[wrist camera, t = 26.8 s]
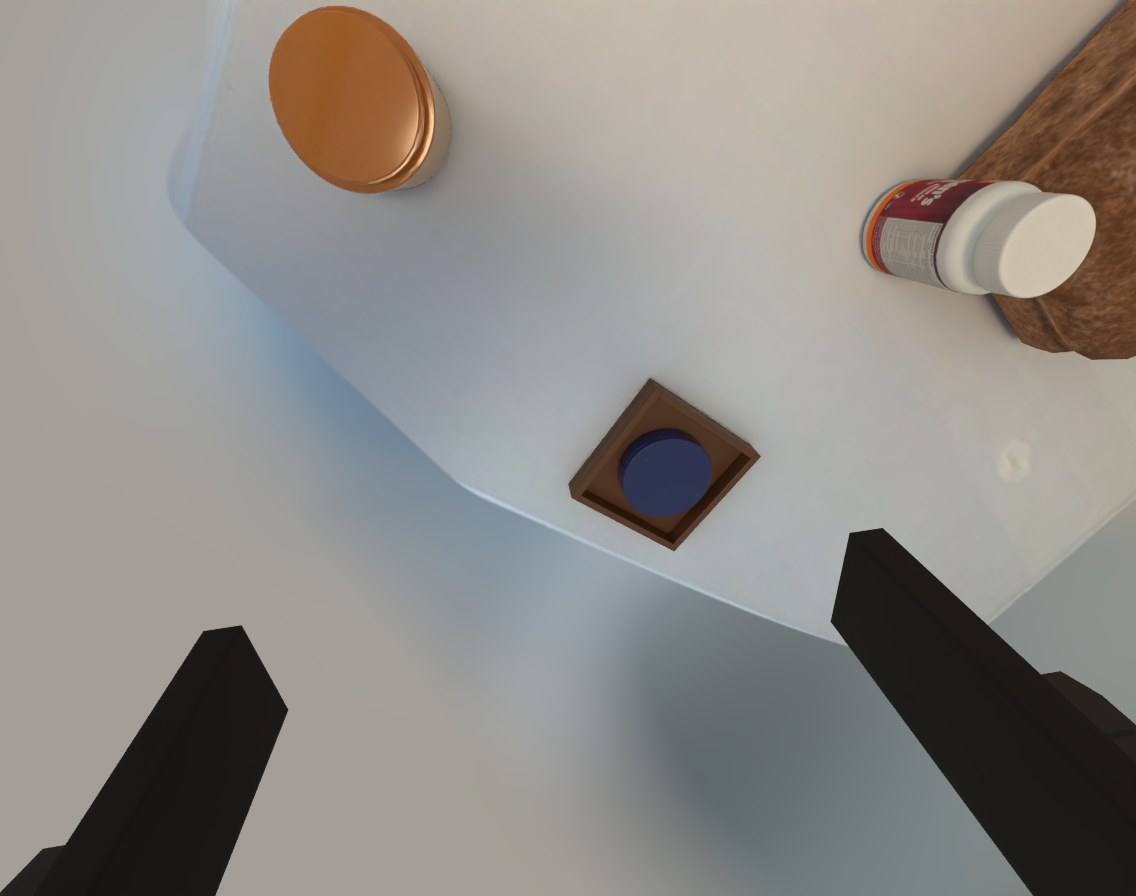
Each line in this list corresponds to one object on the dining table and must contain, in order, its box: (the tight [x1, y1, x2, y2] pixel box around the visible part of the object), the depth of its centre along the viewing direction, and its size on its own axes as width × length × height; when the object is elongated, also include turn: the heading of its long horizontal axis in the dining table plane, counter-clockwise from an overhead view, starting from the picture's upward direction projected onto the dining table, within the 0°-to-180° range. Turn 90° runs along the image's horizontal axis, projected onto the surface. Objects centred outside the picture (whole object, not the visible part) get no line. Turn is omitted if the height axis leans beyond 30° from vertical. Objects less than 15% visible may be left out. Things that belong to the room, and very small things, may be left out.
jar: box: [269, 6, 451, 194], centre depth 26 cm, size 7×7×10 cm
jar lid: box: [618, 429, 712, 517], centre depth 42 cm, size 8×7×2 cm
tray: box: [569, 379, 761, 551], centre depth 43 cm, size 11×11×2 cm
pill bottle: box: [863, 179, 1096, 298], centre depth 32 cm, size 6×6×11 cm
